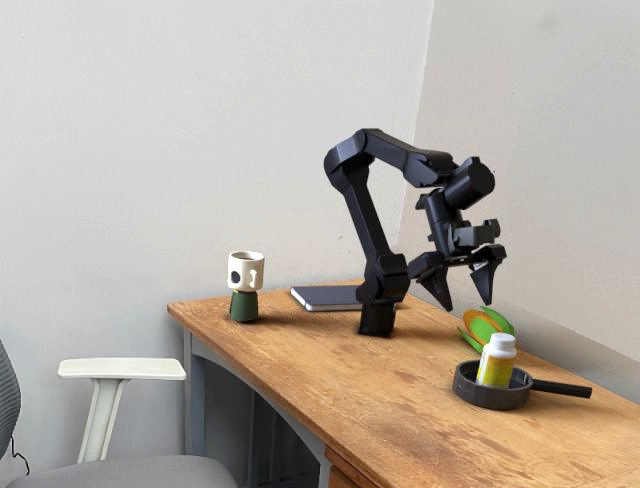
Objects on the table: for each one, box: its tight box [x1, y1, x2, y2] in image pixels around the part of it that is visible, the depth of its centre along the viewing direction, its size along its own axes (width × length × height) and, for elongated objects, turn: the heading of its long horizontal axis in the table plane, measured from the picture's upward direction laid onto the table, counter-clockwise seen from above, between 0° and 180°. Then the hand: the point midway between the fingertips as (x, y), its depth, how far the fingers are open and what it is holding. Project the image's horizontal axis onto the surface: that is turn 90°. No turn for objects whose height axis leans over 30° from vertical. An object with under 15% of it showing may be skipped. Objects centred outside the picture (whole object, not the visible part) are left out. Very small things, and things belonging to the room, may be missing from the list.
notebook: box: [289, 284, 397, 312], centre depth 176 cm, size 13×2×21 cm
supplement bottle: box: [476, 333, 518, 389], centre depth 134 cm, size 6×6×10 cm
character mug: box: [227, 250, 266, 322], centre depth 158 cm, size 11×7×13 cm, turn 22°
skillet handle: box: [531, 377, 593, 400], centre depth 134 cm, size 10×2×2 cm, turn 77°
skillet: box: [451, 359, 534, 411], centre depth 136 cm, size 13×13×4 cm
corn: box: [456, 305, 517, 355], centre depth 155 cm, size 7×8×20 cm
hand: (470, 308), depth 137 cm, fingers open, 9 cm apart
